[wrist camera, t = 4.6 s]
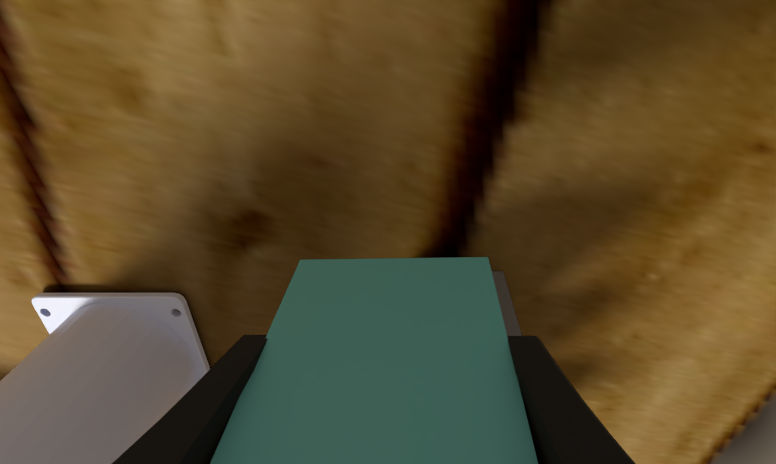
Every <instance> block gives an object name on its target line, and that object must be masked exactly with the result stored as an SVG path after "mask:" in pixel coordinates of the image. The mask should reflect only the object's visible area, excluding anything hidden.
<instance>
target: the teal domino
mask: <svg viewBox="0 0 776 464" xmlns="http://www.w3.org/2000/svg"><path fill="white" fill-rule="evenodd" d="M266 338H268V340H267V342H266V344H265V346H264V349H263V351H262V353H261V356H260V358H259V360H258V363H257V365H256V367H255V369H254V371H253V373H252V375H251V377H250V379H249V380H248V382H247V384H246V386H245V388H244V390H243V391H242V393H241V395H240V397H239V399H238V401H237V404H236V406H235V408H234V410H233V413H232V415H231V417H230V420H229V422H228V424H227V426H226V429H225V431H224V433H223V435H222V438H221V440H220V442H219V444H218V447H217V449H216V451H215V453H214V456H213V458H212V460H211V463H210V464H538V461H537V457H536V453H535V449H534V444H533V440H532V436H531V432H530V428H529V424H528V420H527V416H526V411H525V407H524V403H523V399H522V395H521V391H520V387H519V383H518V378H517V375H516V373H515V369H514V364H513V360H512V356H511V352H510V348H509V344H508V337H507V333H506V329H505V325H504V321H503V316H502V312H501V308H500V304H499V300H498V296H497V292H496V288H495V283H494V279H493V275H492V271H491V267H490V263H489V259H488V257H456V258H383V259H310V260H300V261H299V264H298V266H297V268H296V270H295V273H294V275H293V277H292V279H291V282H290V284H289V286H288V288H287V291H286V293H285V295H284V297H283V300H282V302H281V304H280V306H279V309H278V311H277V313H276V316H275V318H274V320H273V322H272V325H271V327H270V329H269V331H268V334H267V336H266Z"/></svg>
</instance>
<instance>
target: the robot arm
mask: <svg viewBox="0 0 776 464" xmlns="http://www.w3.org/2000/svg"><path fill="white" fill-rule="evenodd" d="M32 304H33V306H34V308H35V310H36V311H37V313H38V315H39V317H40V318H41V320H42V322H43V323H44V325H45V327H46V329H47V330H48V332H49V334H50V335H49V336H48V337H47V338H46V339H44V340H43V341H42V342H41V343H40V344H39V345H38V346H37V347H36V348H35V349H34V350H33V351H32V352H31V353H30V354H29V355H27V356H26V357H25V358H24V359H23V360H22V361H21V362H20V363H19V364H18V365H17V366H16V367H15V368H14V369H13V370H12V371H10V372H9V373H8V374H7V375H6V376H5V377H4V378H3V379H2V380H1V381H0V464H210V463H211V460H212V458H213V456H214V453H215V451H216V449H217V447H218V444H219V442H220V440H221V438H222V435H223V433H224V431H225V429H226V426H227V424H228V422H229V420H230V417H231V415H232V413H233V410H234V408H235V406H236V404H237V401H238V399H239V397H240V395H241V393H242V391H243V390H244V388H245V386H246V384H247V382H248V380H249V379H250V377H251V375H252V373H253V371H254V369H255V367H256V365H257V363H258V360H259V358H260V356H261V353H262V351H263V349H264V346H265V344H266V342H267V340H268V338H266V336H267V335H243V336H242V337H241V338H240V339H239V340H238V341H237V342H236V343H235V344H234V345H233V346H232V347H231V348H230V349H229V350H228V351H227V352H226V353H225V354H224V355H223V357H222V358H221V359H220V360H219V361H218V362H217V363H216V364H215V365H214V366H213V367H212V368H211V369H210V367H209V364H208V361H207V358H206V356H205V353H204V350H203V347H202V344H201V341H200V339H199V336H198V333H197V330H196V327H195V324H194V322H193V319H192V316H191V313H190V310H189V307H188V305H187V302H186V300H185V298H184V297H183V296H182V295H180V294H178V293H39V294H37V295H36V296H35V297H34V298H32ZM176 309H177V310H179V311H180V312H179V311H177V310H176ZM507 337H508V344H509V348H510V352H511V356H512V360H513V364H514V369H515V373H516V375H517V378H518V383H519V387H520V391H521V395H522V399H523V403H524V407H525V411H526V416H527V420H528V424H529V428H530V432H531V436H532V440H533V444H534V449H535V453H536V457H537V461H538V464H635V462H634V461H633V460H632V459H631V458H630V457H629V456H628V455H627V453H626V452H625V451H624V450H623V449H622V447H621V446H620V445H619V444H618V443H617V441H616V440H615V439H614V438H613V437H612V436H611V434H610V433H609V432H608V431H607V429H606V428H605V427H604V426H603V424H602V423H601V422H600V421H599V419H598V418H597V417H596V416H595V414H594V413H593V412H592V411H591V409H590V408H589V407H588V406H587V404H586V403H585V402H584V400H583V399H582V398H581V396H580V395H579V394H578V392H577V391H576V390H575V388H574V387H573V386H572V384H571V383H570V382H569V380H568V379H567V378H566V376H565V375H564V373H563V372H562V371H561V369H560V368H559V366H558V365H557V364H556V362H555V361H554V359H553V358H552V356H551V355H550V353H549V352H548V351H547V349H546V348H545V346H544V345H543V343H542V342H541V340H540V339H539V338H538V337H537V336H507Z"/></svg>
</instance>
